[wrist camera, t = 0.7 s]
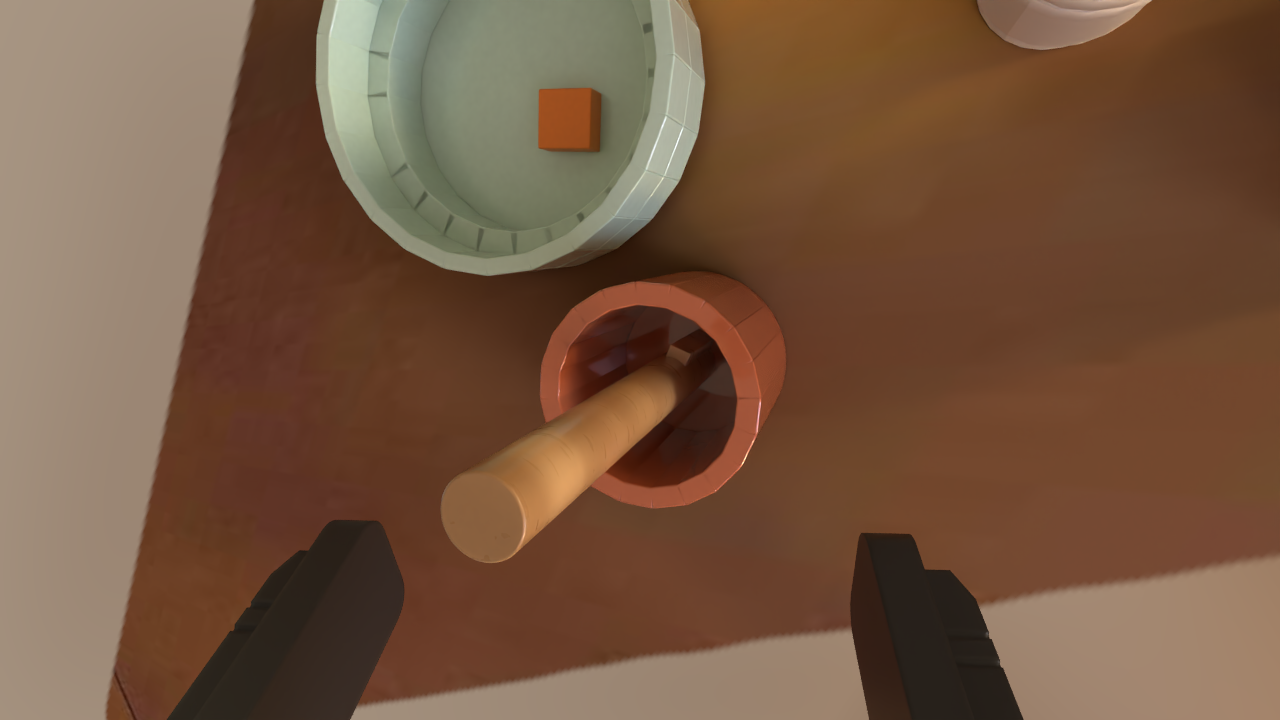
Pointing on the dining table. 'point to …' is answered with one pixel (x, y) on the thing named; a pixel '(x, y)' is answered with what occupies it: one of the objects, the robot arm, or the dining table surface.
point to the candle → (1056, 20)
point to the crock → (710, 416)
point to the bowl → (507, 122)
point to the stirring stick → (566, 455)
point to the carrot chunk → (569, 120)
